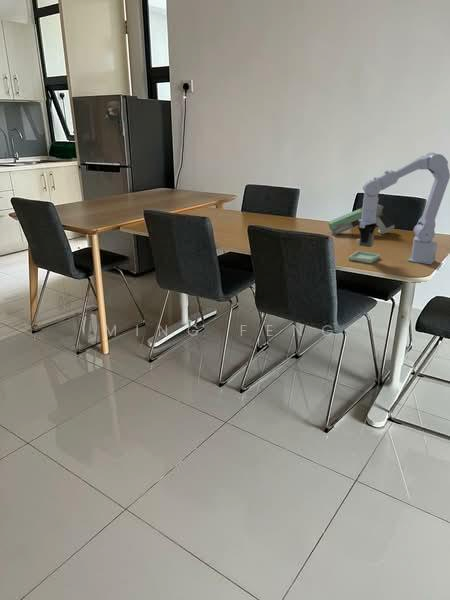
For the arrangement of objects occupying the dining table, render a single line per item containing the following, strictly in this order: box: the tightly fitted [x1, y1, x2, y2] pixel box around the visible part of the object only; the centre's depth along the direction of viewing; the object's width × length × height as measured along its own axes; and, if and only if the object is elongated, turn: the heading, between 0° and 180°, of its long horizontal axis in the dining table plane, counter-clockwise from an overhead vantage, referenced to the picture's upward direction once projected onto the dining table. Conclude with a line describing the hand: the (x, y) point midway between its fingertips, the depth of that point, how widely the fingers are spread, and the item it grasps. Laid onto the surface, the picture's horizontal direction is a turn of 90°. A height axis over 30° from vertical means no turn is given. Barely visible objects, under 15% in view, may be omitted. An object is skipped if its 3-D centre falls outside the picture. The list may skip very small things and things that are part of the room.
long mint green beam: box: [327, 197, 396, 236], centre depth 240 cm, size 7×32×20 cm, turn 92°
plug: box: [355, 232, 375, 248], centre depth 194 cm, size 7×3×6 cm, turn 54°
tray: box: [348, 250, 381, 265], centre depth 197 cm, size 10×11×2 cm
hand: (365, 241), depth 194 cm, fingers closed on plug, 3 cm apart
